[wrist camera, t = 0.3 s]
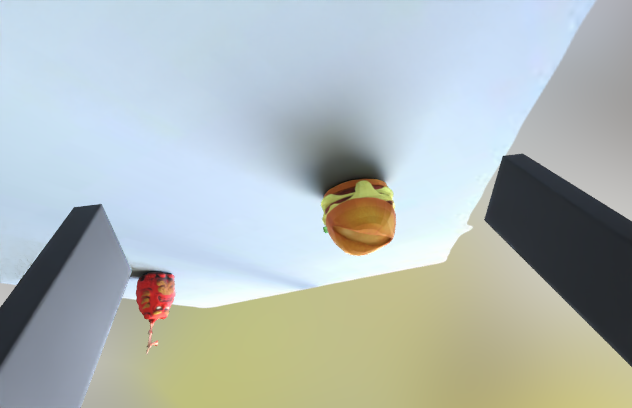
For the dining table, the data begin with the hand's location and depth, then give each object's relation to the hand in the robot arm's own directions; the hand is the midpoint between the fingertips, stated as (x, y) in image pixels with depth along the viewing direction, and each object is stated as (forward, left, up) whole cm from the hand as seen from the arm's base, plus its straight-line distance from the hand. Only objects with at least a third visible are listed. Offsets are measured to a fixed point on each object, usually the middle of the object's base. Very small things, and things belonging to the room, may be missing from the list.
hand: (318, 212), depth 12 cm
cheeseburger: (+31, +9, -15) cm, 36 cm away
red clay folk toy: (+62, -28, -15) cm, 70 cm away
